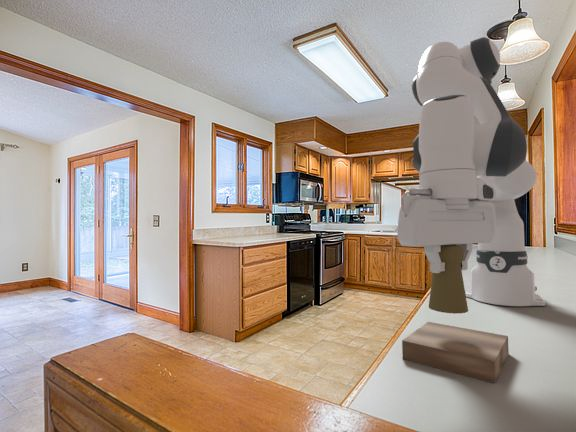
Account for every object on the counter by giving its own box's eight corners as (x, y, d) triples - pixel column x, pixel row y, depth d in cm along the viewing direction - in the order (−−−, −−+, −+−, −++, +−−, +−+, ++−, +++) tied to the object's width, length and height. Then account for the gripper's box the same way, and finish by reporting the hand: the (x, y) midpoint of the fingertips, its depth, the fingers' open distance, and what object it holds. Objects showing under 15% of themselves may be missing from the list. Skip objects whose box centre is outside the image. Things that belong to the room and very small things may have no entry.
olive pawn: (469, 315, 50) (467, 245, 51) (427, 310, 53) (426, 244, 54) (467, 306, 56) (465, 243, 56) (429, 302, 59) (428, 242, 59)
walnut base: (428, 337, 63) (428, 321, 63) (508, 353, 54) (507, 336, 54) (402, 358, 53) (402, 340, 53) (495, 383, 44) (494, 361, 44)
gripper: (418, 185, 47) (419, 279, 47) (502, 190, 56) (504, 269, 56) (387, 189, 53) (389, 273, 53) (468, 193, 62) (470, 265, 62)
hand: (449, 271), depth 54 cm, fingers closed on olive pawn, 4 cm apart
